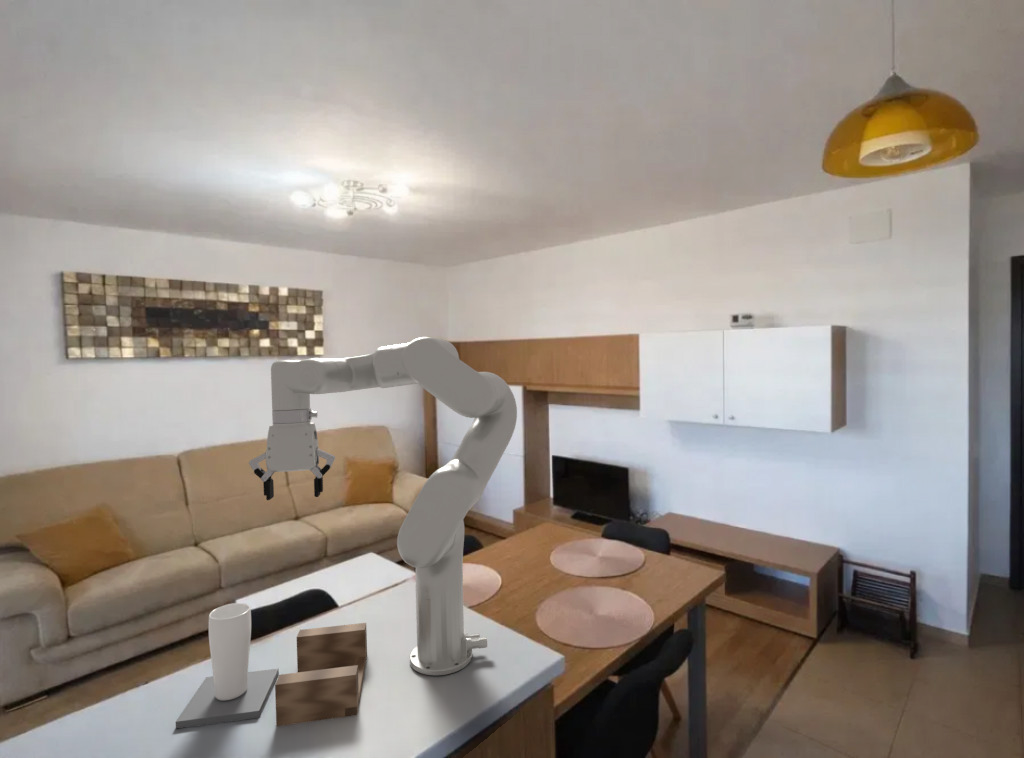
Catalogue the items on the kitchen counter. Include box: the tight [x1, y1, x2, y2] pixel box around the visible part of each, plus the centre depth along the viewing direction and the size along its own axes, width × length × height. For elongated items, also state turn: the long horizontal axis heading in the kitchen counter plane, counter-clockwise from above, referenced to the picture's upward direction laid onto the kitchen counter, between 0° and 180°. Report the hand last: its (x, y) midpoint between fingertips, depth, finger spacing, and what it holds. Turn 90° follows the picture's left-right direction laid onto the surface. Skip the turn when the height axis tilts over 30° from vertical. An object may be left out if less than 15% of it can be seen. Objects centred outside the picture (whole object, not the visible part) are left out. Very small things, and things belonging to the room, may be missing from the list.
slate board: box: [175, 668, 280, 729], centre depth 95 cm, size 13×13×1 cm
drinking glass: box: [208, 602, 252, 701], centre depth 94 cm, size 7×7×15 cm
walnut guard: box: [274, 622, 368, 727], centre depth 98 cm, size 13×19×7 cm
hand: (294, 497), depth 112 cm, fingers open, 9 cm apart
